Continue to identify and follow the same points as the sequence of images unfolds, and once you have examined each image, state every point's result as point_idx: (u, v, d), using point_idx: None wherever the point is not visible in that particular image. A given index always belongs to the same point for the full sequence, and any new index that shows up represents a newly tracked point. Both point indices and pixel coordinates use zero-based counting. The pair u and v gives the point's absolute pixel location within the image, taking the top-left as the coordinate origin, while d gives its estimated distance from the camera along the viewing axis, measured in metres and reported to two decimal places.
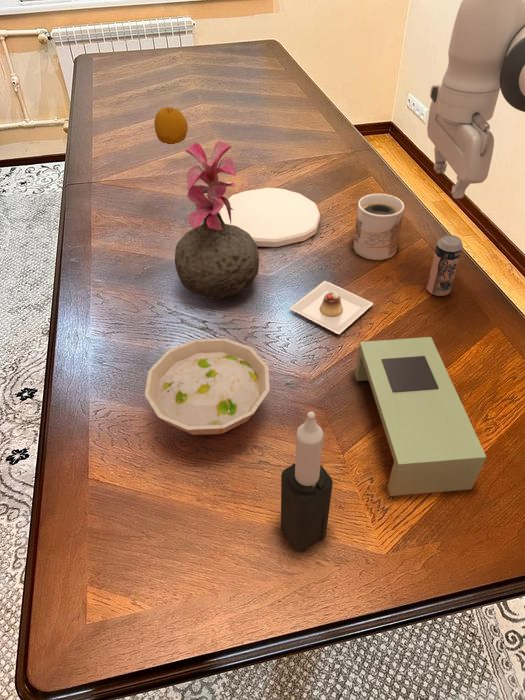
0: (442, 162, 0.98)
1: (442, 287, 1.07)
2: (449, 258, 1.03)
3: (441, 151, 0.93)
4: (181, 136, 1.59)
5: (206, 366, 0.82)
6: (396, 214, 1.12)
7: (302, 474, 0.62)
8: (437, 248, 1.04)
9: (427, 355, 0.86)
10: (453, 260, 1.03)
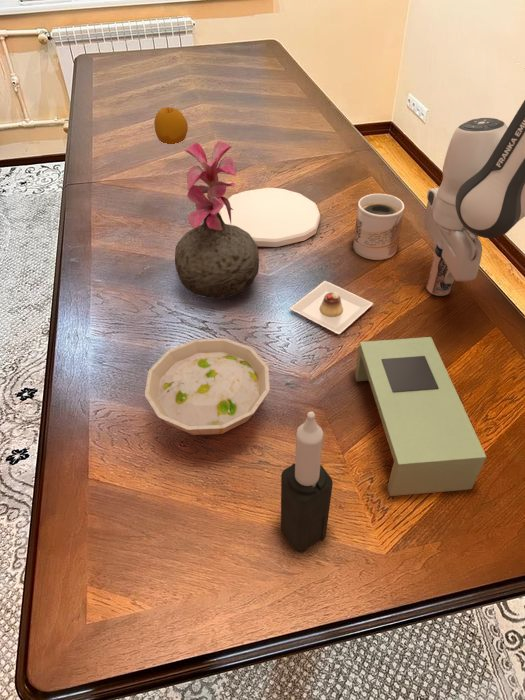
0: None
1: (442, 287, 1.07)
2: None
3: None
4: (181, 136, 1.59)
5: (206, 366, 0.82)
6: (396, 214, 1.12)
7: (302, 474, 0.62)
8: (437, 248, 1.04)
9: (427, 355, 0.86)
10: None
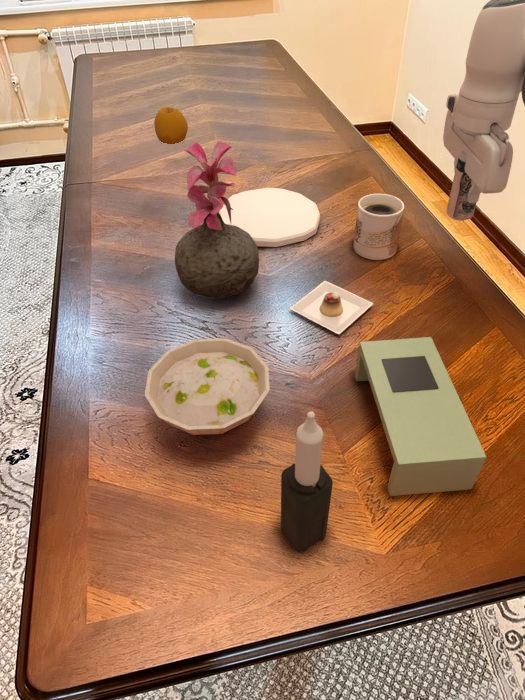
0: None
1: (464, 209, 0.95)
2: None
3: None
4: (181, 136, 1.59)
5: (206, 366, 0.82)
6: (396, 214, 1.12)
7: (302, 474, 0.62)
8: (459, 162, 0.91)
9: (427, 355, 0.86)
10: None
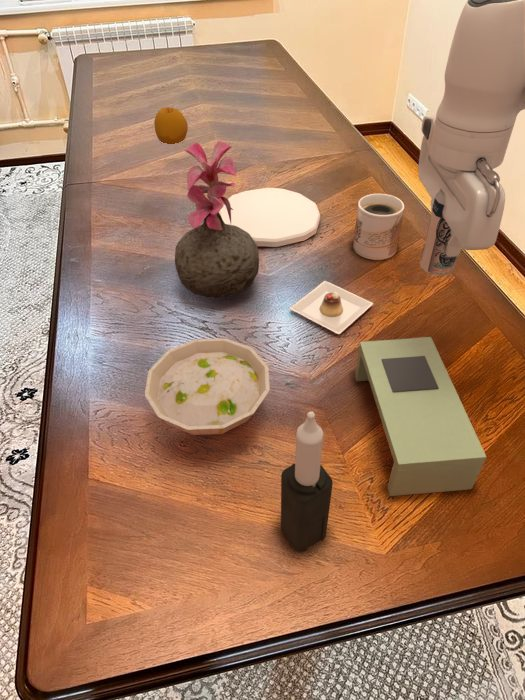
0: None
1: (442, 263, 0.74)
2: None
3: None
4: (181, 136, 1.59)
5: (206, 366, 0.82)
6: (396, 214, 1.12)
7: (302, 474, 0.62)
8: (435, 203, 0.70)
9: (427, 355, 0.86)
10: None
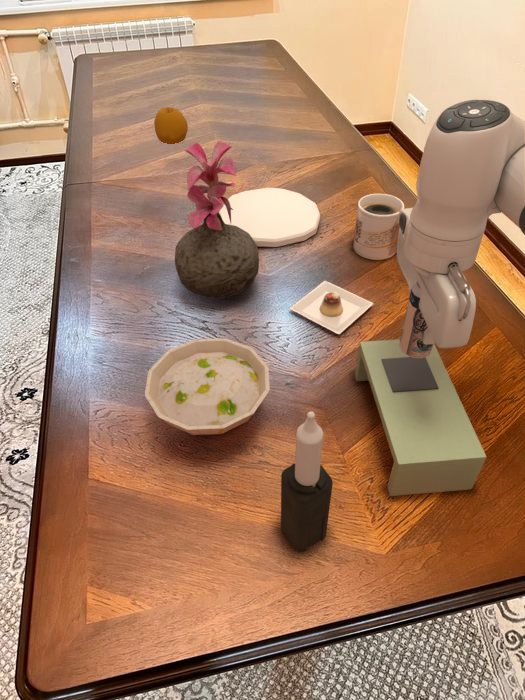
0: None
1: (420, 347, 0.76)
2: None
3: None
4: (181, 136, 1.59)
5: (206, 366, 0.82)
6: (396, 214, 1.12)
7: (302, 474, 0.62)
8: (412, 295, 0.72)
9: None
10: None
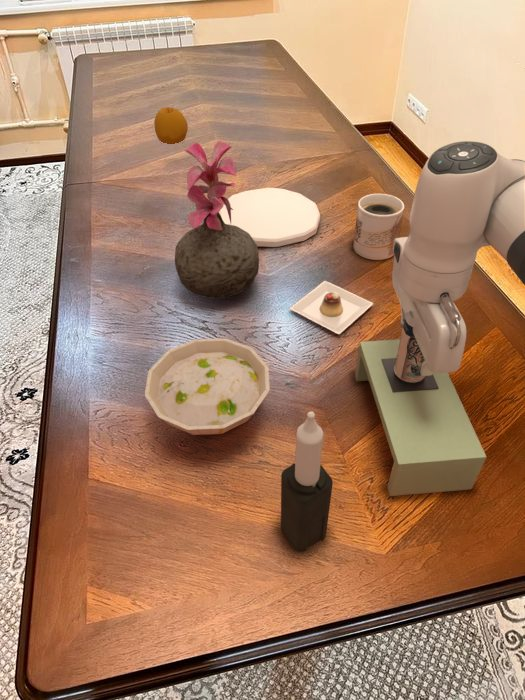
0: None
1: (414, 372, 0.79)
2: None
3: None
4: (181, 136, 1.59)
5: (206, 366, 0.82)
6: (396, 214, 1.12)
7: (302, 474, 0.62)
8: (405, 323, 0.76)
9: None
10: None
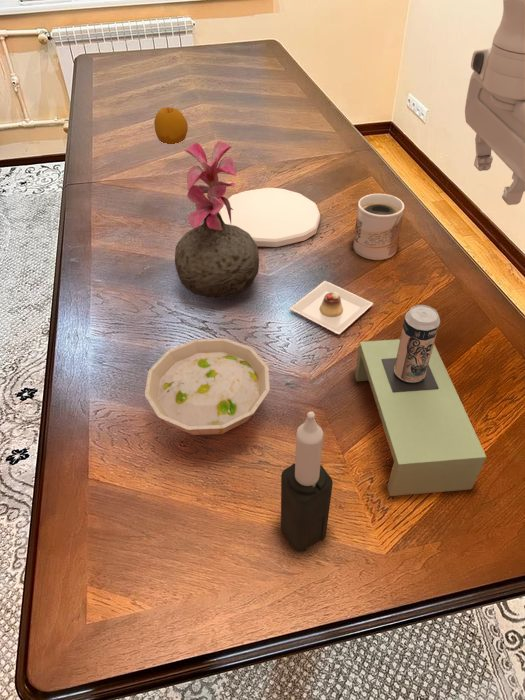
0: (486, 156, 0.73)
1: (414, 372, 0.79)
2: (421, 338, 0.75)
3: (488, 140, 0.68)
4: (181, 136, 1.59)
5: (206, 366, 0.82)
6: (396, 214, 1.12)
7: (302, 474, 0.62)
8: (405, 323, 0.76)
9: None
10: (427, 340, 0.75)
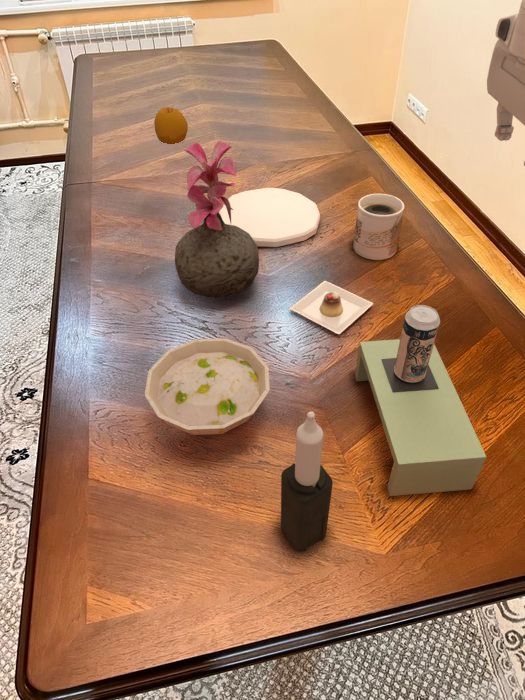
0: (507, 125, 0.74)
1: (414, 372, 0.79)
2: (421, 338, 0.75)
3: (511, 107, 0.69)
4: (181, 136, 1.59)
5: (206, 366, 0.82)
6: (396, 214, 1.12)
7: (302, 474, 0.62)
8: (405, 323, 0.76)
9: None
10: (427, 340, 0.75)
